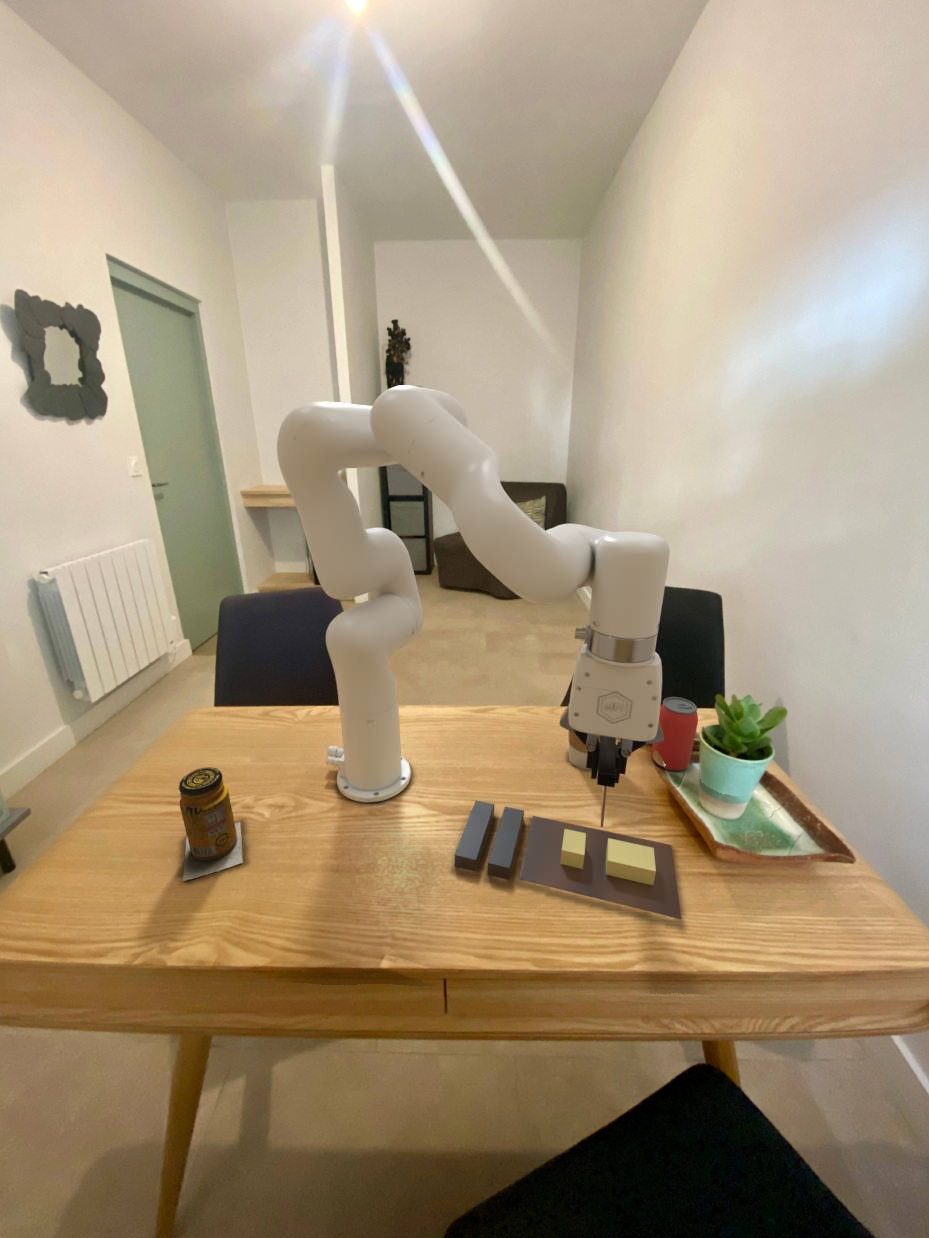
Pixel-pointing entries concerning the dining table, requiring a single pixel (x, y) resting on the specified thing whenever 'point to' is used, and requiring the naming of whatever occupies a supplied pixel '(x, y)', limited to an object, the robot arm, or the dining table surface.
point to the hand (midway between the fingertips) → (604, 773)
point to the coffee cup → (577, 749)
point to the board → (598, 868)
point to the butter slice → (573, 848)
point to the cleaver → (606, 768)
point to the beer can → (676, 732)
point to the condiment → (208, 824)
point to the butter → (630, 861)
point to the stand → (503, 843)
